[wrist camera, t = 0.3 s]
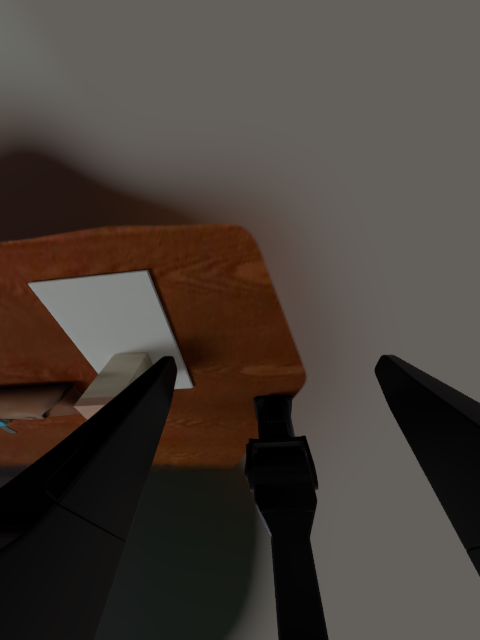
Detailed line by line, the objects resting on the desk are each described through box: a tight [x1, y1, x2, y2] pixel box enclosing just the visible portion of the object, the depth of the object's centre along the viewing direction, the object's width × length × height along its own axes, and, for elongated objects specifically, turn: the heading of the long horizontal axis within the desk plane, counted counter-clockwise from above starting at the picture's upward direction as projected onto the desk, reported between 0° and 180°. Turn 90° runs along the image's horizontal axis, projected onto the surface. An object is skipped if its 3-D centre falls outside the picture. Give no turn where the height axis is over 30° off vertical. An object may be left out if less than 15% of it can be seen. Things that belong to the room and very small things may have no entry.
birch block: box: [74, 352, 153, 420], centre depth 26 cm, size 5×5×8 cm
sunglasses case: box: [0, 384, 82, 419], centre depth 34 cm, size 18×7×7 cm
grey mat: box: [28, 270, 193, 389], centre depth 27 cm, size 20×14×1 cm
